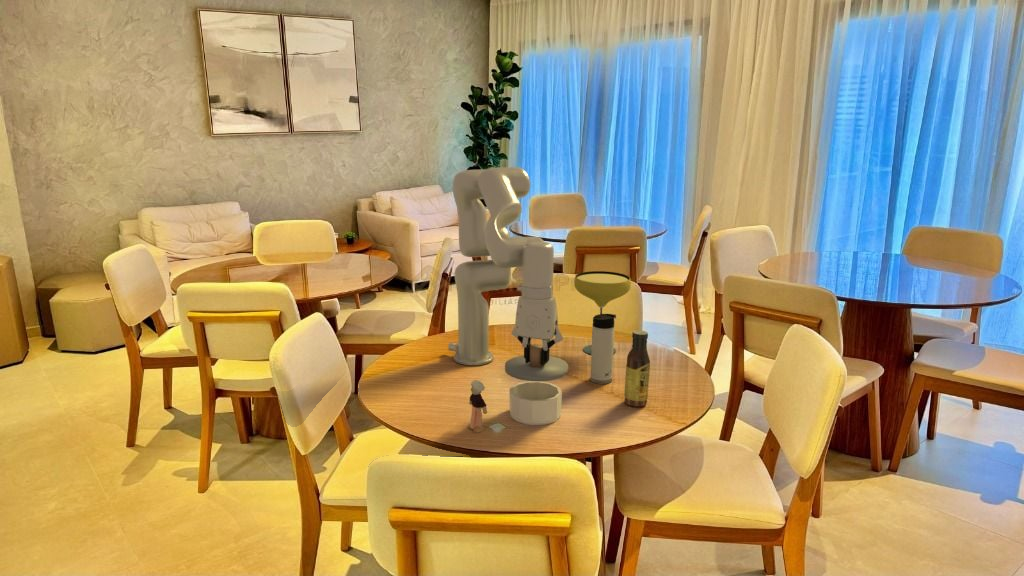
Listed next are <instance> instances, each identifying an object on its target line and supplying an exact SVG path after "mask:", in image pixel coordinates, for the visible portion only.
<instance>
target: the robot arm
mask: <svg viewBox="0 0 1024 576" xmlns="http://www.w3.org/2000/svg"><path fill="white" fill-rule="evenodd" d="M530 189H531V179H530V177H529V174H528V173H527V171H526V170H525V169H523V168H521V167H518V166H516V167H514V166H512V167H510V166H509V167H507V166H506V167H491V168H485V169H467V170H462V171H459V172H457V173H456V174H455V175H454V176H453V181H452V194H453V198H454V201H455V205H456V209H457V212H458V247H459V251H460V253H461V255H462V256H463V257H467V258H479V257H480V258H482V257H490V259H484V260H483V259H480V260H471V261H470V260H469V261H464V262H462V263H460V264H458V265H457V266H456V267H455V268H454V269H455V270H454V281H455V287H456V294H457V312H458V313H457V315H458V316H457V318H458V319H457V320H458V321H457V327H458V328H457V329H458V337H457V338H458V343H456V342H449V343H448V347H447V349H448V351H451V352H455V353H454V354H453V360H454V361H455V362H456V363H457V364H460V365H463V366H483V365H486V364H491V362H492V361H493V360H494V359H495V358H494V353H492V352H491V351H489V347H490V345H489V344H490V340H489V339H490V338H489V334H490V333H489V332H490V330H489V329H490V326H489V324H490V323H489V321H490V319H489V309H490V307H489V303H488V301H487V299H485V297H484V296H483V295H482V294H481V293H483V292H489V291H498V290H504V289H506V288H508V287H509V285H510V283H511V276H512V268H513V269H514V268H521V267H522V282H521V283H522V284H521V285H517V286H516V287H517V292H518V291H519V292H520V293H521V295H520V296H519V297H518V300H517V303H516V304H517V305H516V312H515V313H516V314H515V322H514V327H513V329H512V330H511V332H510V333H511V335H512V336H513V337H515V338H516V339H517V340H518V342H519V343H521V347H523V355H524V358H525V363H529V360H530V345H532V343H531V342H532V339H535V340H541V342H542V345H543V350H541V365H543V366H544V365H545V364H546V363H547V362H548V361H549V356H550V348H551V347H553V346H554V345H555V344H558V343H560V342H562V341H563V339H564V336H563V335H562V333H561V331H560V329H559V318H558V316H559V315H558V308H557V302H556V297H553V296H554V295H553V294H554V258H555V257H554V246H553V245H552V244H551V243H550V242H548V241H544V240H543V239H542V238H541V237H539V236H516V237H511V236H510V233H509V230H508V228H506V227H507V226H510V225H511V224H513V223H514V222H516V221H517V220H518V219H519V217H520V216H521V214H522V212H523V211H522V209H523V208H522V204H521V202H520V200H519V199H520V198H521V199H522V198H524V197H526V196H528V194H529V192H530ZM481 200H484V203H485V205H486V206H485V205H484V204H483V202H482V201H481ZM486 208H487V209H486ZM487 210H488V212H489V214H490V217H489V219H488V220H487V216H488V215H487V214H488V213H487Z"/></svg>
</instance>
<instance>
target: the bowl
mask: <svg viewBox="0 0 1024 576" xmlns="http://www.w3.org/2000/svg"><path fill="white" fill-rule="evenodd" d="M562 399H563V391H562V389H561V388H560V387H559V386H558V385H556V384H554V383H551V382H548V381H526V380H524V381H522V382H518V383H515V384H514V385H512V387H510V388H509V416H510V418H511V419H512V420H513V421H515V422H517V423H519V424H523V425H528V426H546V425H550V424H553V423H556V422H557V421H559V419H560V418H561V414H562V407H563V406H562V403H563V400H562Z"/></svg>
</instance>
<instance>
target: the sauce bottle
mask: <svg viewBox="0 0 1024 576" xmlns="http://www.w3.org/2000/svg"><path fill="white" fill-rule="evenodd" d="M648 338H649V334H648V332H647V331H645V330H634V331H632V345H631V349H630V350H629V352H628V353H627V356H626V365H625V379H624V403H625V404H626V405H627V406H631V407H634V408H635V407H644V406H646V405H647V403H648V400H649V399H648V398H649V385H650V384H649V383H650V372H651V371H650V370H651V369H650V368H651V360H650V356H649V353H648V352H649V351H648V349H647V348H648V347H647V343H648Z"/></svg>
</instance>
